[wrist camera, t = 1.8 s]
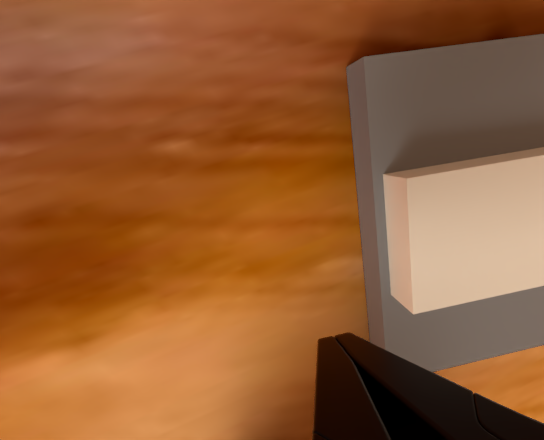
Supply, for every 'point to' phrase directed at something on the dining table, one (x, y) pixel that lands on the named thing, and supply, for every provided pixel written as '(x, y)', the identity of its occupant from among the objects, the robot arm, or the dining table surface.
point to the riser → (435, 151)
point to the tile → (465, 230)
